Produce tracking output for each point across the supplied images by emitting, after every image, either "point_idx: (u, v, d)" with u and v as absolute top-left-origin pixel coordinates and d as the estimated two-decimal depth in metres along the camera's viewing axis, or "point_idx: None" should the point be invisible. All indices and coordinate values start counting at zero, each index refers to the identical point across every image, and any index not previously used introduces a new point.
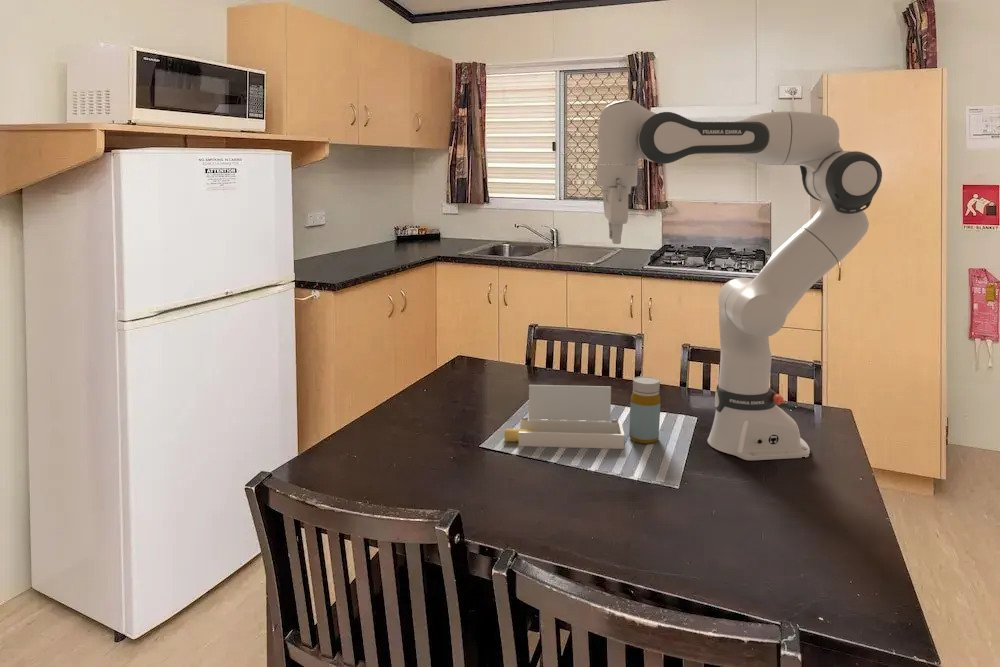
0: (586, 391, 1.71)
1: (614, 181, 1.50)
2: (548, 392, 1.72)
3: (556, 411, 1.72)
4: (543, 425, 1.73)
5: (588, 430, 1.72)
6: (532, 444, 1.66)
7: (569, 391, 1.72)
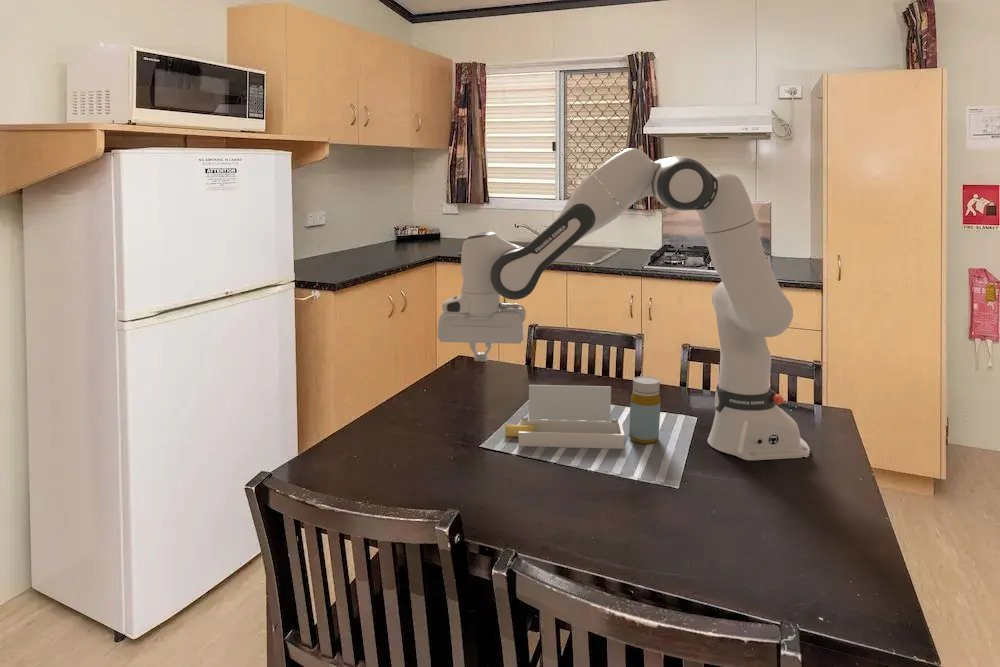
0: (586, 391, 1.71)
1: (498, 306, 1.61)
2: (548, 392, 1.72)
3: (556, 411, 1.72)
4: (543, 425, 1.73)
5: (588, 430, 1.72)
6: (532, 444, 1.66)
7: (569, 391, 1.72)
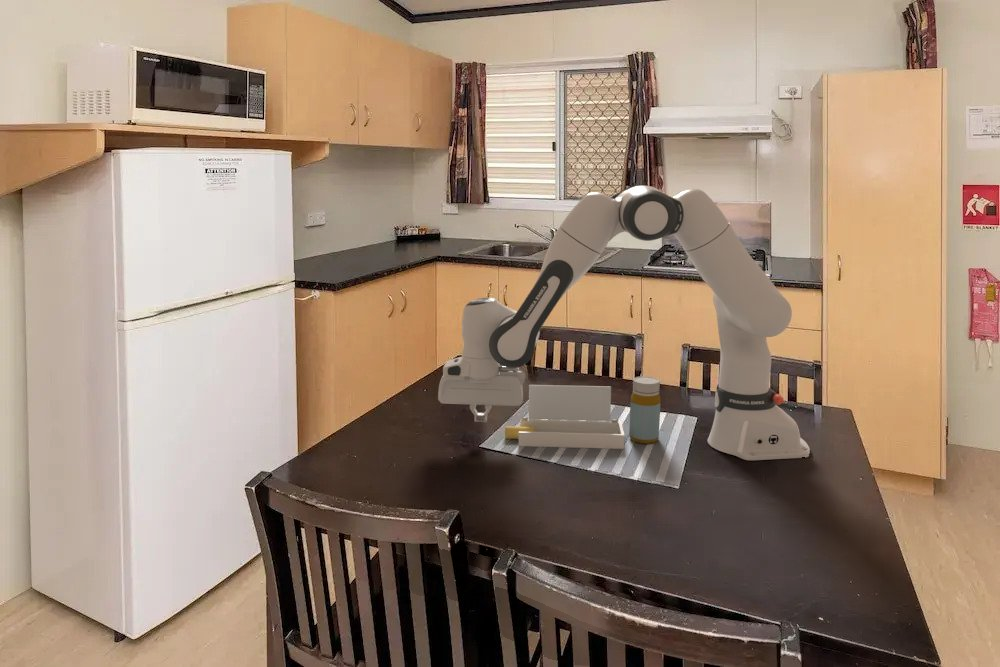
0: (586, 391, 1.71)
1: (498, 369, 1.65)
2: (548, 392, 1.72)
3: (556, 411, 1.72)
4: (543, 425, 1.73)
5: (588, 430, 1.72)
6: (532, 444, 1.66)
7: (569, 391, 1.72)
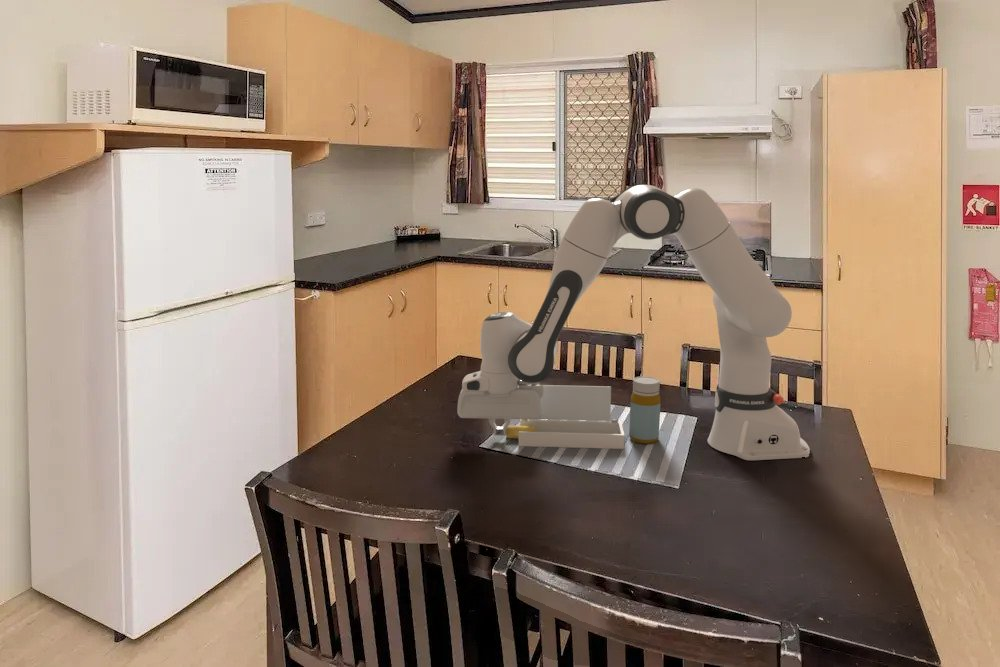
0: (586, 391, 1.71)
1: (517, 383, 1.65)
2: (548, 392, 1.72)
3: (556, 411, 1.72)
4: (543, 425, 1.73)
5: (588, 430, 1.72)
6: (532, 444, 1.66)
7: (569, 391, 1.72)
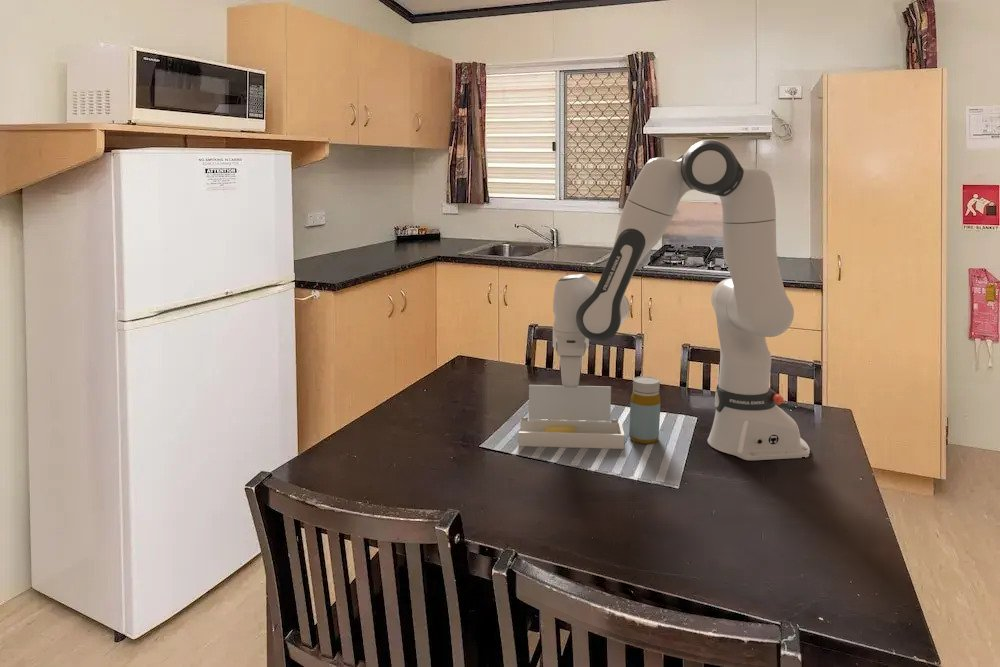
0: (586, 391, 1.71)
1: None
2: (548, 392, 1.72)
3: (556, 411, 1.72)
4: (543, 425, 1.73)
5: (588, 430, 1.72)
6: (532, 444, 1.66)
7: (569, 391, 1.72)
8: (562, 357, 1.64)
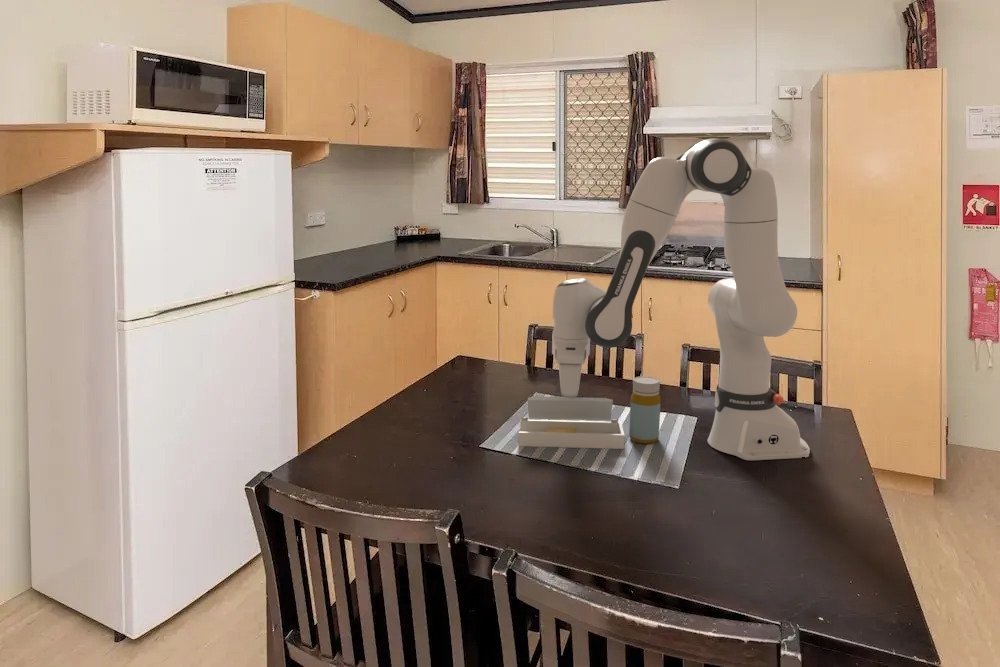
0: (587, 404, 1.66)
1: None
2: (548, 404, 1.67)
3: (556, 415, 1.71)
4: (543, 425, 1.73)
5: (588, 430, 1.72)
6: (532, 444, 1.66)
7: (569, 403, 1.67)
8: (561, 365, 1.58)
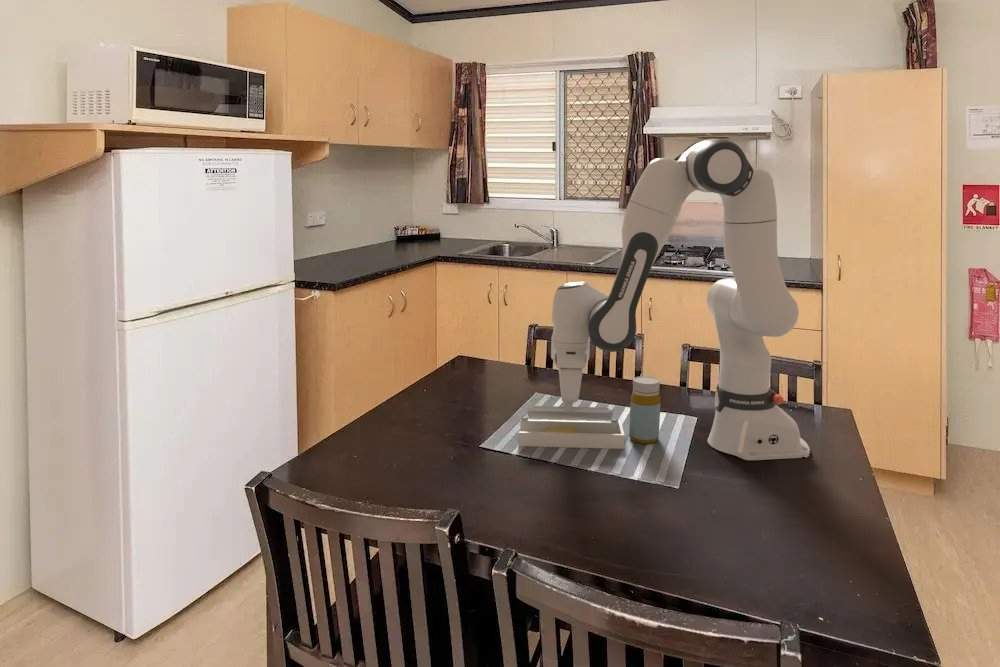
0: (587, 413, 1.65)
1: None
2: (547, 412, 1.66)
3: (556, 417, 1.71)
4: (543, 425, 1.73)
5: (588, 430, 1.72)
6: (532, 444, 1.66)
7: (569, 413, 1.66)
8: (561, 369, 1.55)
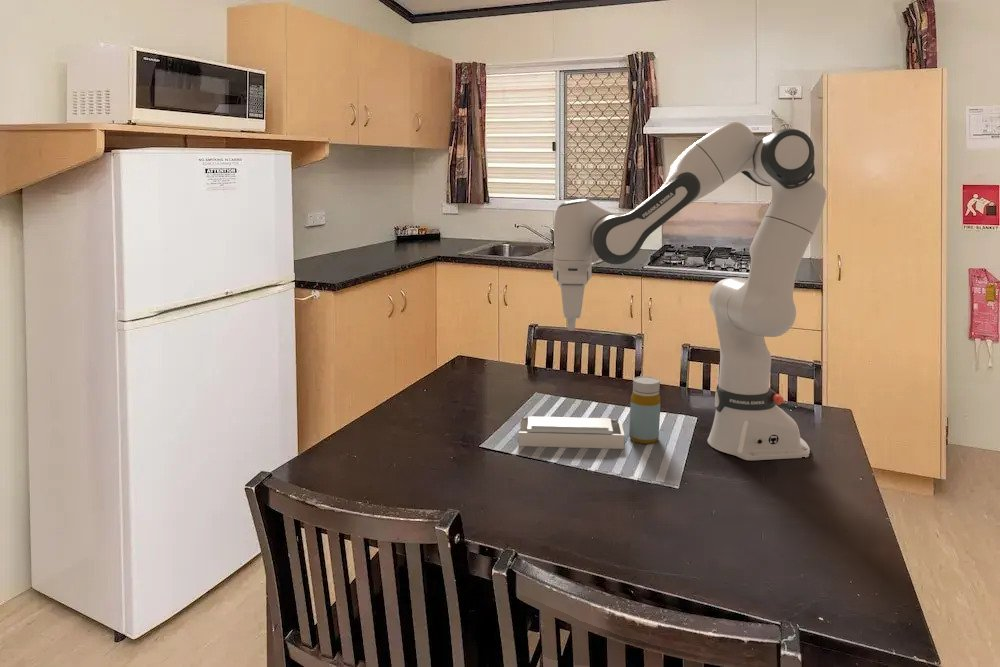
0: None
1: None
2: None
3: None
4: None
5: None
6: (532, 444, 1.66)
7: None
8: (563, 285, 1.54)
